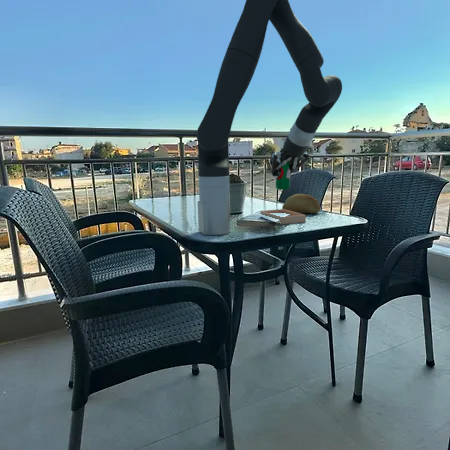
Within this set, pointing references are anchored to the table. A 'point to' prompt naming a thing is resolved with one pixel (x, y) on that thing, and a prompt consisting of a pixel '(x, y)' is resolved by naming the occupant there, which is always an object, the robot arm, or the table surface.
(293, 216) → the tray
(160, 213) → the table surface
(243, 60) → the robot arm
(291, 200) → the bread roll
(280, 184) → the soda can
